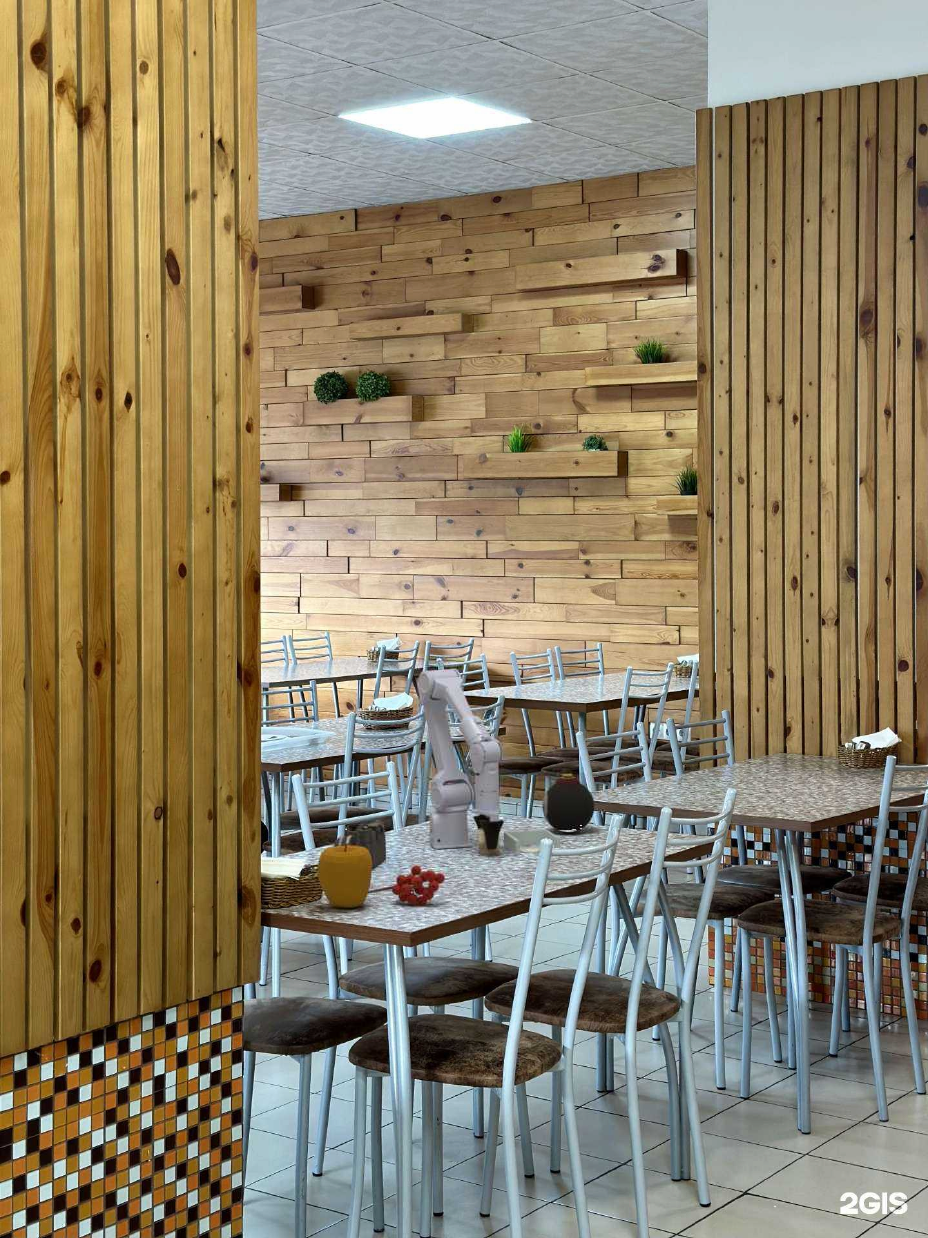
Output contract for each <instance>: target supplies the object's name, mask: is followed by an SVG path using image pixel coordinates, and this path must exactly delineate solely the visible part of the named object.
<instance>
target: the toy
mask: <svg viewBox="0 0 928 1238" xmlns="http://www.w3.org/2000/svg"><path fill="white" fill-rule="evenodd" d="M541 804H542V805H541V806H542V808H541V810H542V813H543V817H544V818H545V820H546V822H547V823H548V824H549V825H550V826H551V827H552V828H553V829H555V830H557V831H558V830H572V829H576V830H579V831H581V830H580V828H583V829H584V828H586V827H587V826H588V824H590V822H591V820H592V818H593V816H594V813H595V801H594V797H593V794H592V793H591V791H590V790H589V788H587V786H585V785H584V784H583V783H581V781H580V779H579V778H577V777H576V776H573V774H572V773H564V774H562V776H560V777H559V778H557V779H556V780H555V783H554V784H552V786H550V787H549V788H548V789H547V791H546V792H545V794H544V795H543V798H542V803H541ZM580 825H582V826H580Z"/></svg>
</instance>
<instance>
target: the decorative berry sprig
mask: <svg viewBox="0 0 928 1238" xmlns="http://www.w3.org/2000/svg"><path fill="white" fill-rule="evenodd" d="M410 872H411V873H410V874H407V876H406V875H405V874H400V875H398V876H397V877H396V879H395V881H396V884H394V885H391V886H387V887H382V888H377V889H373V890H369V891H368V894H373V893H378V892H382V891H383V892H384V891H388V890H391V891H392V894H394V896H398V897H397V898H398V900H399V901H400V902H402V903H405V902H406V903H407V904H408V905H410V906H411V905H415V904H416V905H417V906H419V907H421V906H424V907H425V906H426V905H427V904H428V903H427V902H428V901H430V900H432V899H433V898H434V896H435V892H438V891H439V888H440V885H442V884H443V883H444V882H445V875H444V874H443V873H442V872H437V873H435V871H433V870H431V869H430V870H427V871H425V870H424V871H422V869H421V866H419V865H413V866H412V867H411V868H410ZM426 882H428V885H427V886H426V887H425V886H424V885H423V883H426Z"/></svg>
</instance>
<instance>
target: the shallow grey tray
mask: <svg viewBox="0 0 928 1238" xmlns="http://www.w3.org/2000/svg"><path fill="white" fill-rule="evenodd" d="M545 838H547V839H551V840H552V841H553V844H554V848H560V849H561V839H560V836H558V835H556V834H554V832H553V833H552V831H551V832H550V831H549V830H548V829H544V828H543V829H532V830H531V829H529V830H517V831H503V846H504V848H505V849H507V850H509V851H510V852H511V853H512V854H514V855H515V856H520V853H521V852H524V853H539V852H538V850H539V847H540V846H535V845H541V844H540V841H541V840H542V839H545ZM521 846H525V847H521ZM520 847H521V848H520Z"/></svg>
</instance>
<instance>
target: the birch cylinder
mask: <svg viewBox="0 0 928 1238" xmlns="http://www.w3.org/2000/svg"><path fill="white" fill-rule="evenodd" d="M477 831H478V832H477V833H478V834H477V835H478V836H477V837H478V855H479V856H484V857H490V856H491V857H492V856H493V855H494V856H497V855H500V854H501V851H500V847H501V846H500V837H499V838H498V844H497V848H496V849H492V850H488V849H487V846H486V841H485V835H484V831H483V828H480V829H478V828H477Z"/></svg>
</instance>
